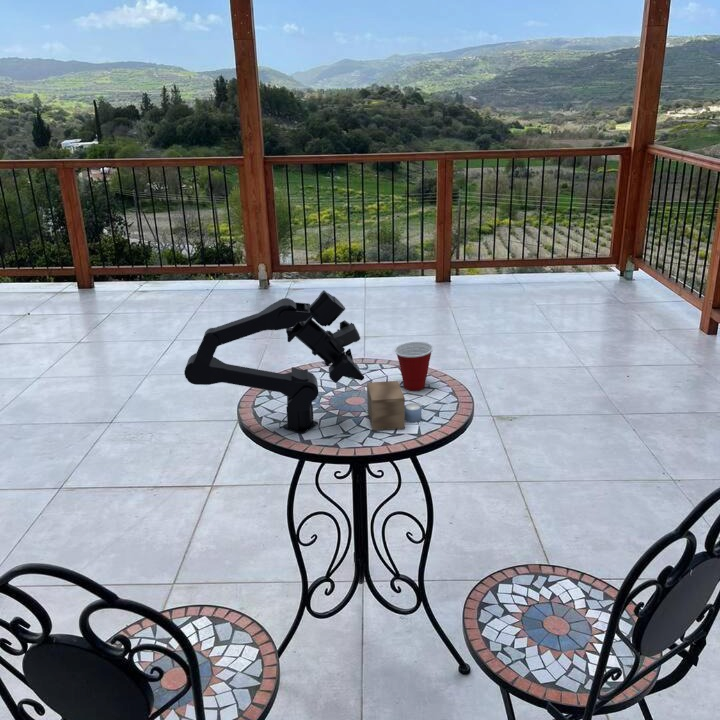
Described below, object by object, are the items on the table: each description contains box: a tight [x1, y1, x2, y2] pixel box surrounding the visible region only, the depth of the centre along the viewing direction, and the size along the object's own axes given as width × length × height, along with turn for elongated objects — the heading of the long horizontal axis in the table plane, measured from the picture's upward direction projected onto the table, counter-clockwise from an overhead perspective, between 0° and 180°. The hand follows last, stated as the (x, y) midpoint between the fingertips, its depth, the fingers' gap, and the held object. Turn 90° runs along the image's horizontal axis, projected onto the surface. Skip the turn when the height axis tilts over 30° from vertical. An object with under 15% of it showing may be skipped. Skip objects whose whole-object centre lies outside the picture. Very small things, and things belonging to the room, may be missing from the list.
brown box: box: [366, 380, 406, 431], centre depth 171 cm, size 8×11×8 cm
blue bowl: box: [405, 403, 423, 423], centre depth 173 cm, size 4×4×3 cm
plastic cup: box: [393, 341, 434, 392], centre depth 190 cm, size 11×11×12 cm
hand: (363, 378), depth 168 cm, fingers closed
